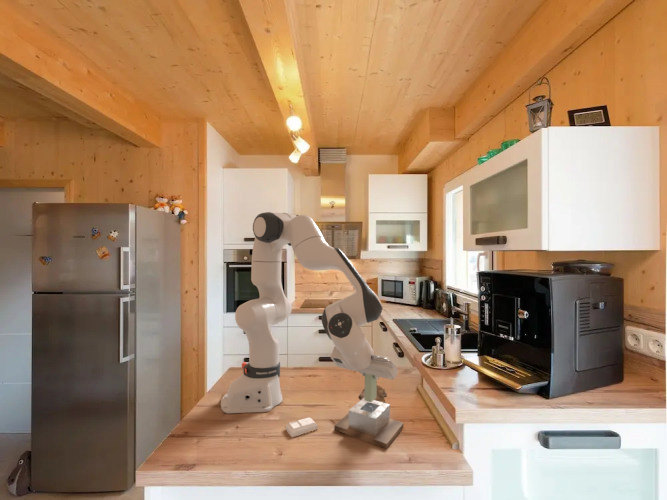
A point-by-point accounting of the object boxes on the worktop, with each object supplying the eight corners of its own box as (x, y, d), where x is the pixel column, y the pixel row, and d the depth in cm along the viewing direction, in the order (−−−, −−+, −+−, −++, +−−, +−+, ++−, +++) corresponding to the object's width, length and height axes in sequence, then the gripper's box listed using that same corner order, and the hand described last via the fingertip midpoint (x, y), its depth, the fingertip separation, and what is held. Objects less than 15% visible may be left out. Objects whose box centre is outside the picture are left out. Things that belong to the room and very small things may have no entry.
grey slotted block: (389, 421, 111) (389, 404, 111) (375, 436, 102) (375, 418, 102) (364, 412, 116) (364, 397, 116) (348, 427, 107) (348, 410, 107)
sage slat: (376, 397, 110) (377, 361, 110) (371, 402, 106) (371, 364, 106) (369, 395, 111) (370, 359, 111) (364, 400, 108) (364, 363, 107)
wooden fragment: (387, 413, 120) (387, 410, 120) (357, 410, 121) (357, 407, 121) (386, 384, 145) (386, 381, 145) (360, 382, 147) (360, 379, 147)
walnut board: (403, 427, 110) (403, 422, 110) (386, 448, 98) (386, 443, 98) (355, 411, 120) (355, 407, 120) (334, 429, 108) (334, 425, 108)
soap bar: (317, 430, 108) (317, 422, 108) (291, 438, 103) (292, 430, 103) (310, 423, 112) (310, 415, 112) (285, 430, 107) (285, 422, 107)
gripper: (393, 350, 97) (404, 373, 106) (333, 339, 108) (348, 361, 116) (387, 370, 93) (399, 392, 102) (325, 357, 104) (341, 378, 113)
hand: (371, 375), depth 109 cm, fingers closed on sage slat, 2 cm apart
